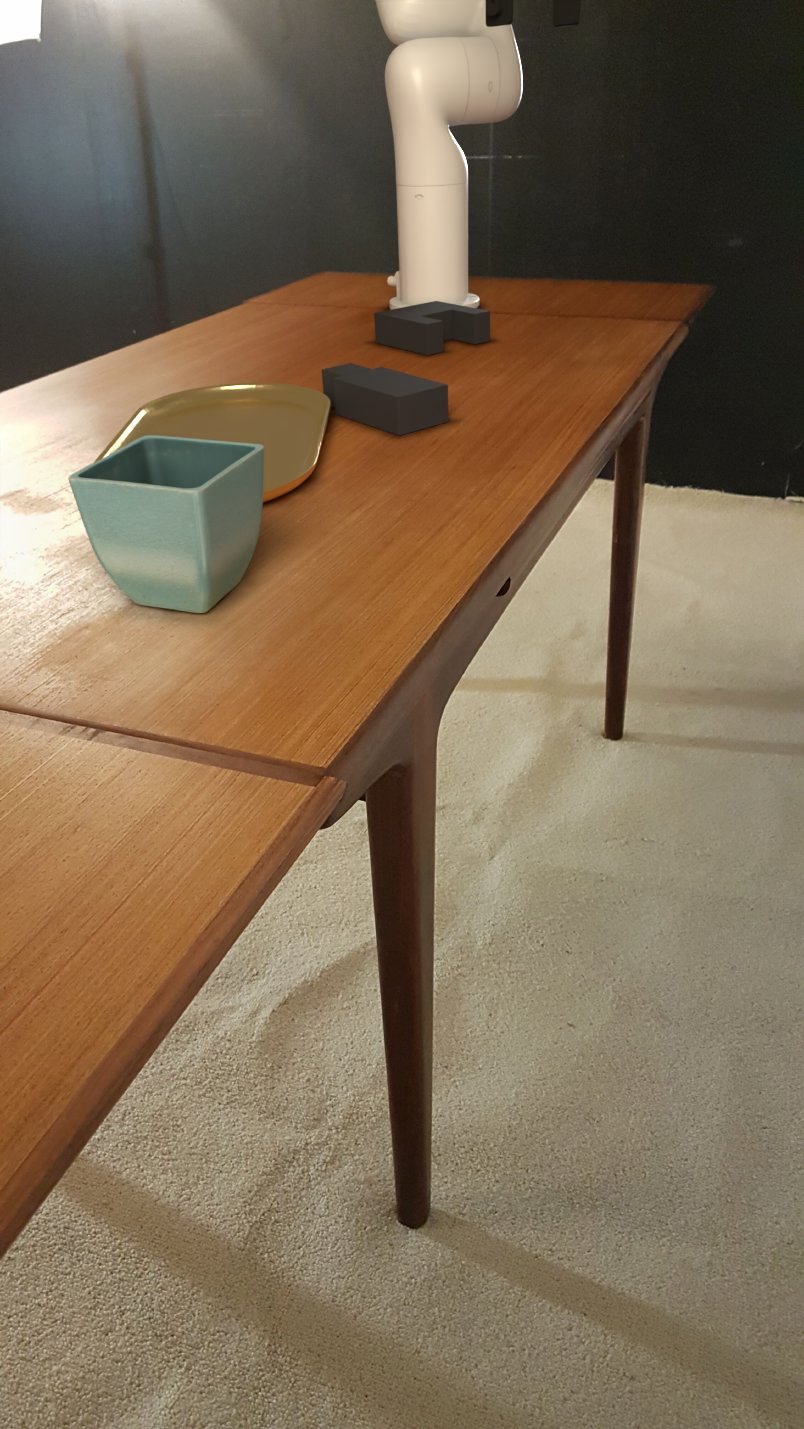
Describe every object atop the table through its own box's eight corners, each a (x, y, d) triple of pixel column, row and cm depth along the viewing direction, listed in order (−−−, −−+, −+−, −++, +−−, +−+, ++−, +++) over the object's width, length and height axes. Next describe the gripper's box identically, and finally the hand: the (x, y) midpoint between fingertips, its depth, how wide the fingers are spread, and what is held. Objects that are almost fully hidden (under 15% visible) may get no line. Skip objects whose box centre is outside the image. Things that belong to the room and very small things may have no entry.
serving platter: (60, 526, 77) (55, 506, 76) (159, 401, 107) (157, 385, 106) (308, 519, 76) (306, 499, 76) (338, 395, 106) (337, 379, 105)
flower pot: (281, 574, 68) (267, 441, 63) (219, 634, 61) (198, 490, 56) (166, 561, 71) (143, 432, 66) (94, 617, 64) (63, 477, 59)
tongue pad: (314, 407, 103) (311, 371, 101) (361, 395, 106) (359, 360, 104) (399, 435, 94) (397, 397, 92) (448, 422, 97) (448, 384, 95)
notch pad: (375, 342, 126) (373, 312, 125) (436, 329, 132) (436, 300, 130) (427, 355, 120) (426, 324, 118) (490, 341, 125) (490, 310, 123)
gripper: (569, -179, 101) (563, 29, 110) (440, -201, 92) (444, 28, 101) (630, -197, 96) (618, 23, 105) (500, -221, 87) (499, 22, 96)
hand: (533, 25), depth 103 cm, fingers open, 9 cm apart
